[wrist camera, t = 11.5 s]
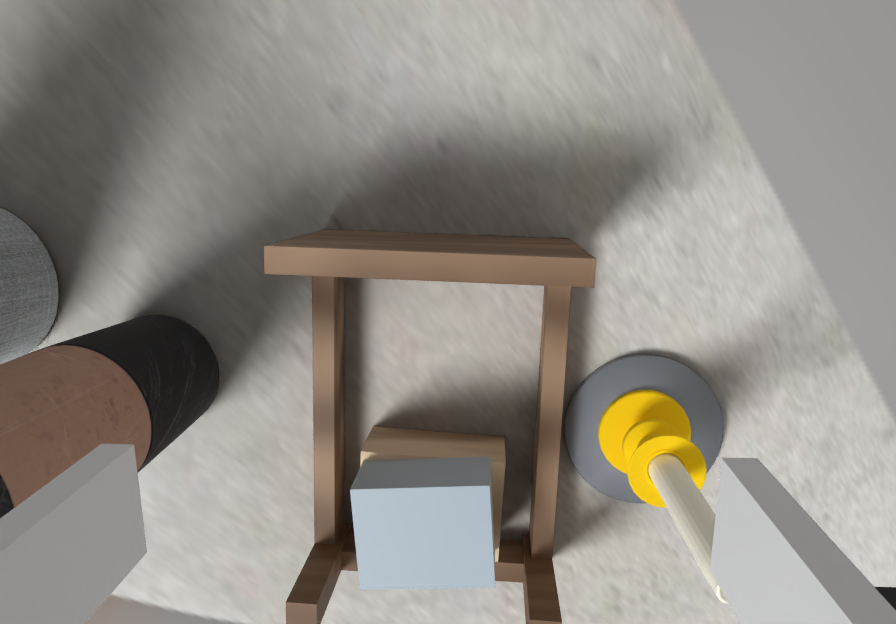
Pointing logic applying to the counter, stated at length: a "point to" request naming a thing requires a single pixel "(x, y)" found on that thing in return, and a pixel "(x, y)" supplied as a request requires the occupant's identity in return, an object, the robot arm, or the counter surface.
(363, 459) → the offcut lower
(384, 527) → the offcut upper
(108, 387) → the travel mug
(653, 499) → the candle
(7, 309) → the vase
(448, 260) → the frame
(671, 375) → the disc
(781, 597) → the robot arm
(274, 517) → the counter surface
